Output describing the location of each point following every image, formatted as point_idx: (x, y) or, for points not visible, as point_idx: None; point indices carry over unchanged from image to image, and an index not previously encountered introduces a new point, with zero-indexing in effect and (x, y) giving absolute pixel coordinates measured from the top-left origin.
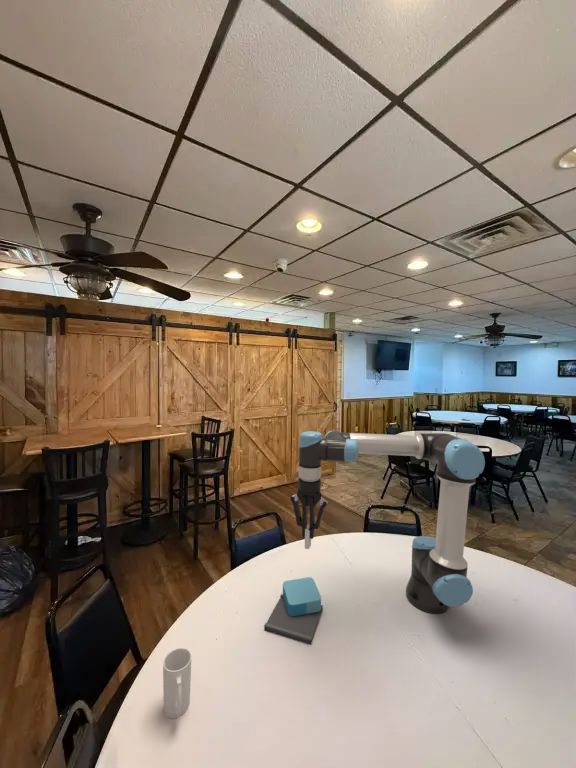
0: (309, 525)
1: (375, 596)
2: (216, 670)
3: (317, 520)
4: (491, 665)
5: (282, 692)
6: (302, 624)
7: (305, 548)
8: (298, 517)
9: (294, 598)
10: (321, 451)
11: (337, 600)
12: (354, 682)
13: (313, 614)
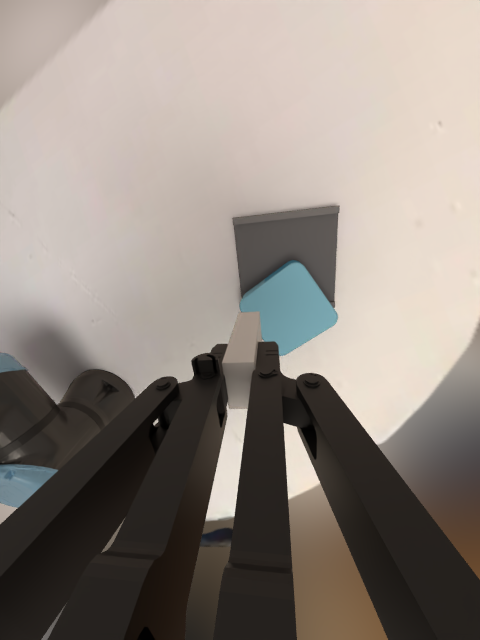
0: (216, 386)
1: (173, 374)
2: (402, 36)
3: (127, 429)
4: (3, 307)
5: (242, 77)
6: (263, 251)
7: (255, 312)
8: (327, 427)
9: (294, 282)
10: None
11: (227, 342)
12: (140, 178)
13: (252, 285)
